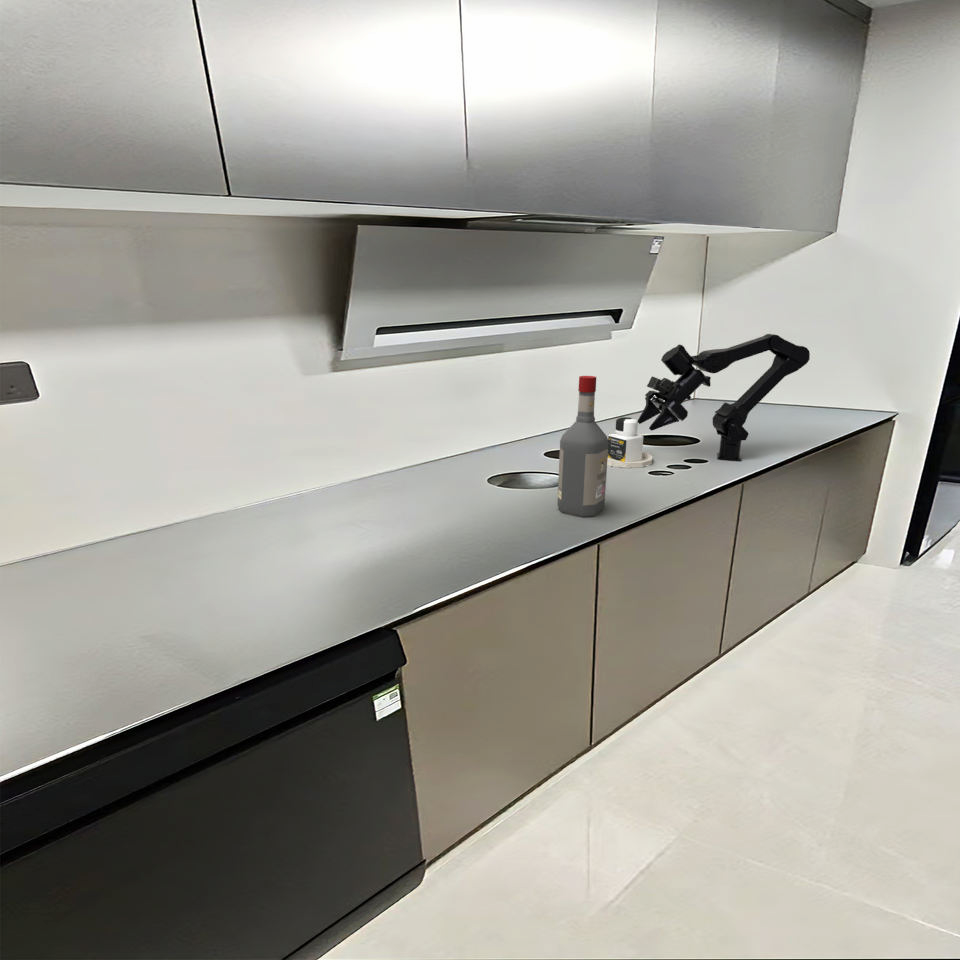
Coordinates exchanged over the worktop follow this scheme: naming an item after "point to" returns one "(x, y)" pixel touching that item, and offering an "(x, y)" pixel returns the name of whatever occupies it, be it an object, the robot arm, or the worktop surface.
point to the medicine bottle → (625, 441)
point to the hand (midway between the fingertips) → (644, 426)
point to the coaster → (644, 461)
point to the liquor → (583, 459)
